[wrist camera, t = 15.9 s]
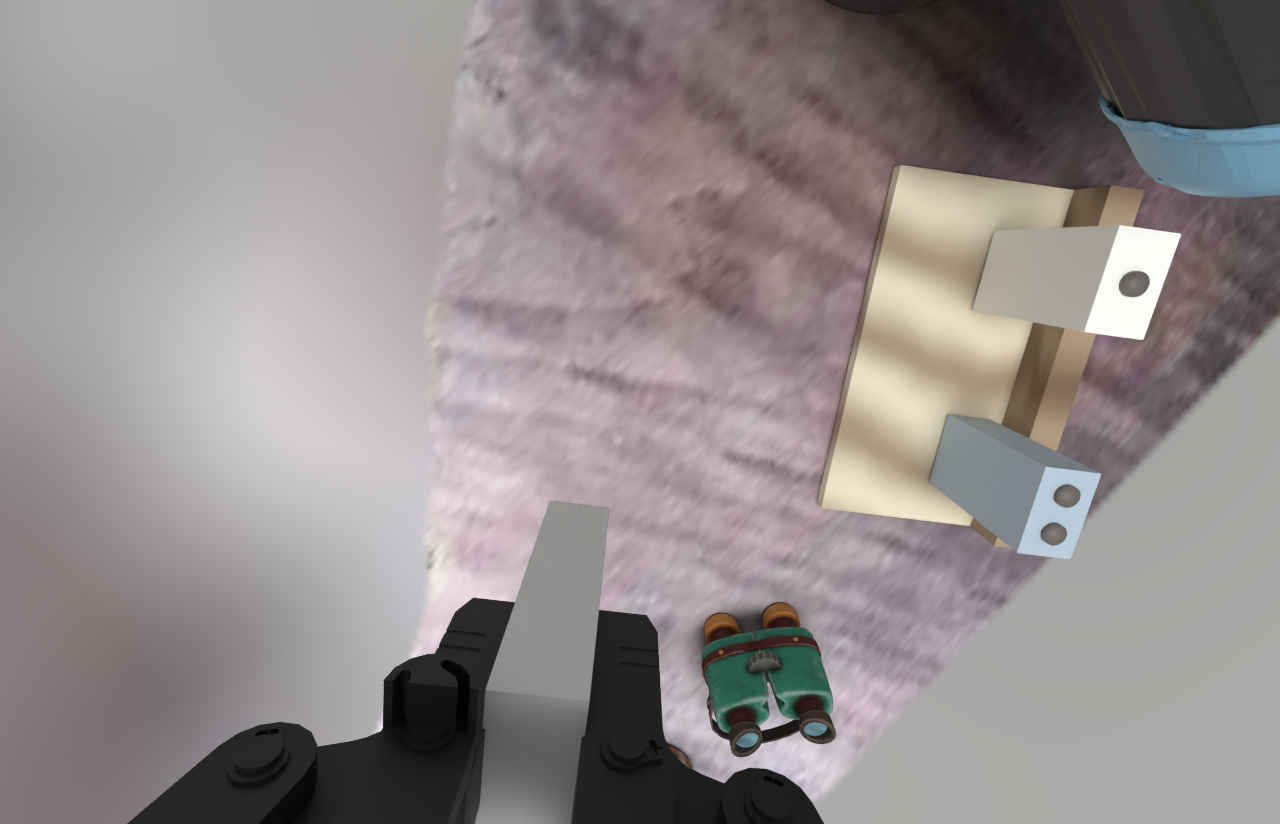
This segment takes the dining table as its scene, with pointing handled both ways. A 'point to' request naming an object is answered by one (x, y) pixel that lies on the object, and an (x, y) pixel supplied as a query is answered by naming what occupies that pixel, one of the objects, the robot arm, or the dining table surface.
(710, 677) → the binoculars
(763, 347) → the dining table surface
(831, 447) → the holder
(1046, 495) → the tile two
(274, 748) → the robot arm
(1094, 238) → the tile one
